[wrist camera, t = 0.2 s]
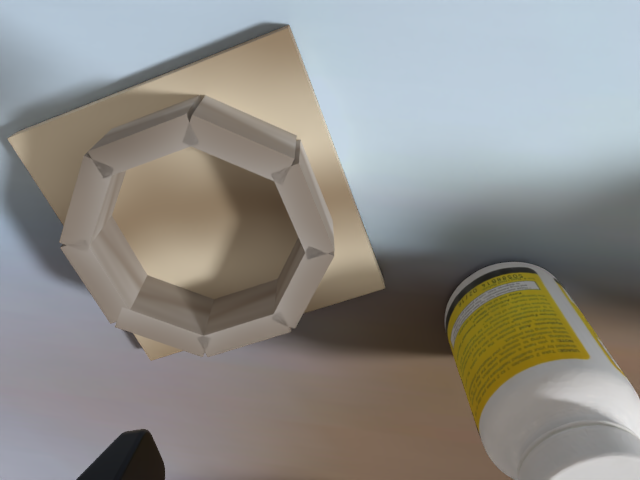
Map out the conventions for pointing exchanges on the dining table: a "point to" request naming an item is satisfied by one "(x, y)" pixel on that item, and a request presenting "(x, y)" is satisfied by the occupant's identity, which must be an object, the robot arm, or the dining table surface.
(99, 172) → the octagonal ring stand
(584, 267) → the dining table surface
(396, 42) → the dining table surface
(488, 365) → the supplement bottle
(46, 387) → the dining table surface
